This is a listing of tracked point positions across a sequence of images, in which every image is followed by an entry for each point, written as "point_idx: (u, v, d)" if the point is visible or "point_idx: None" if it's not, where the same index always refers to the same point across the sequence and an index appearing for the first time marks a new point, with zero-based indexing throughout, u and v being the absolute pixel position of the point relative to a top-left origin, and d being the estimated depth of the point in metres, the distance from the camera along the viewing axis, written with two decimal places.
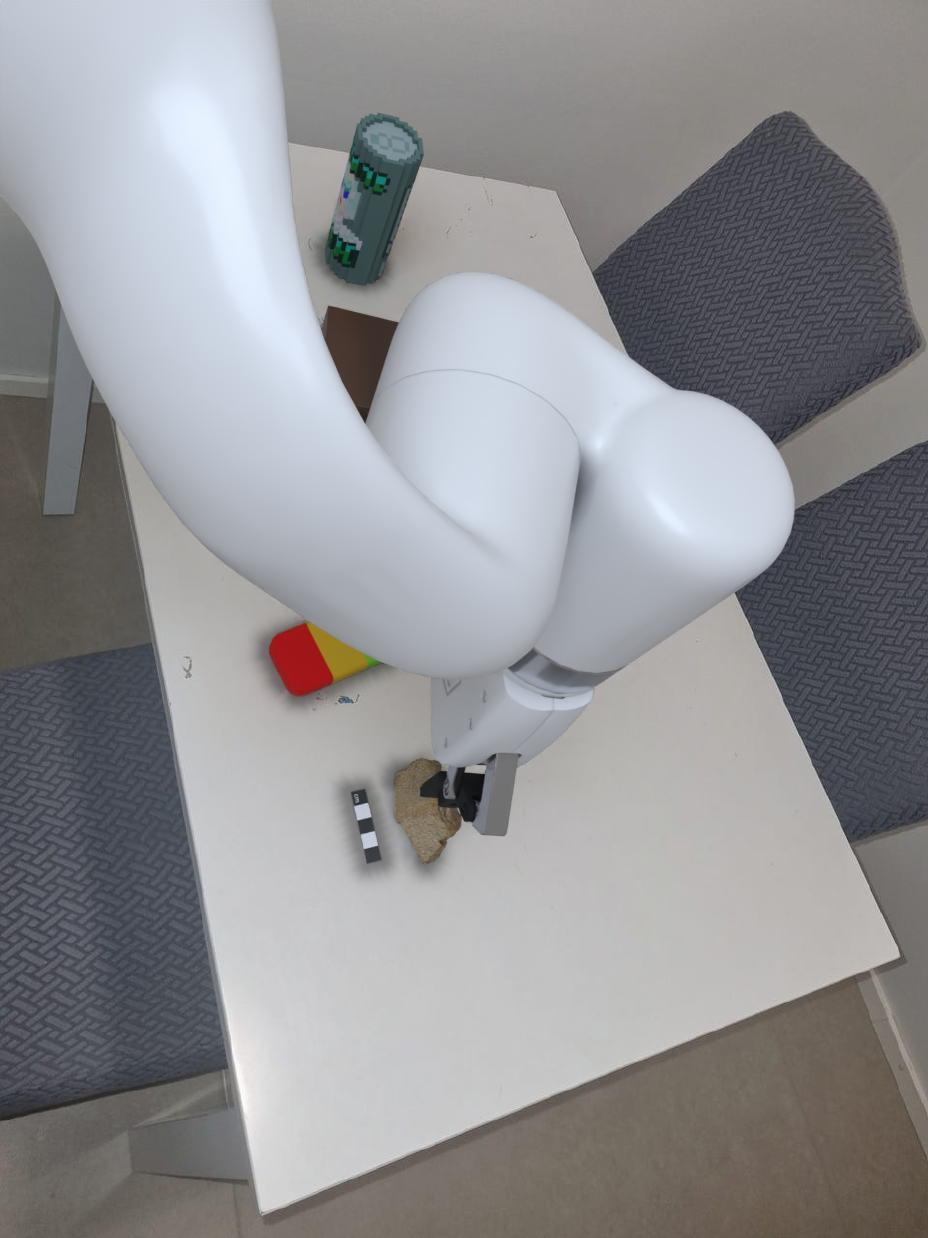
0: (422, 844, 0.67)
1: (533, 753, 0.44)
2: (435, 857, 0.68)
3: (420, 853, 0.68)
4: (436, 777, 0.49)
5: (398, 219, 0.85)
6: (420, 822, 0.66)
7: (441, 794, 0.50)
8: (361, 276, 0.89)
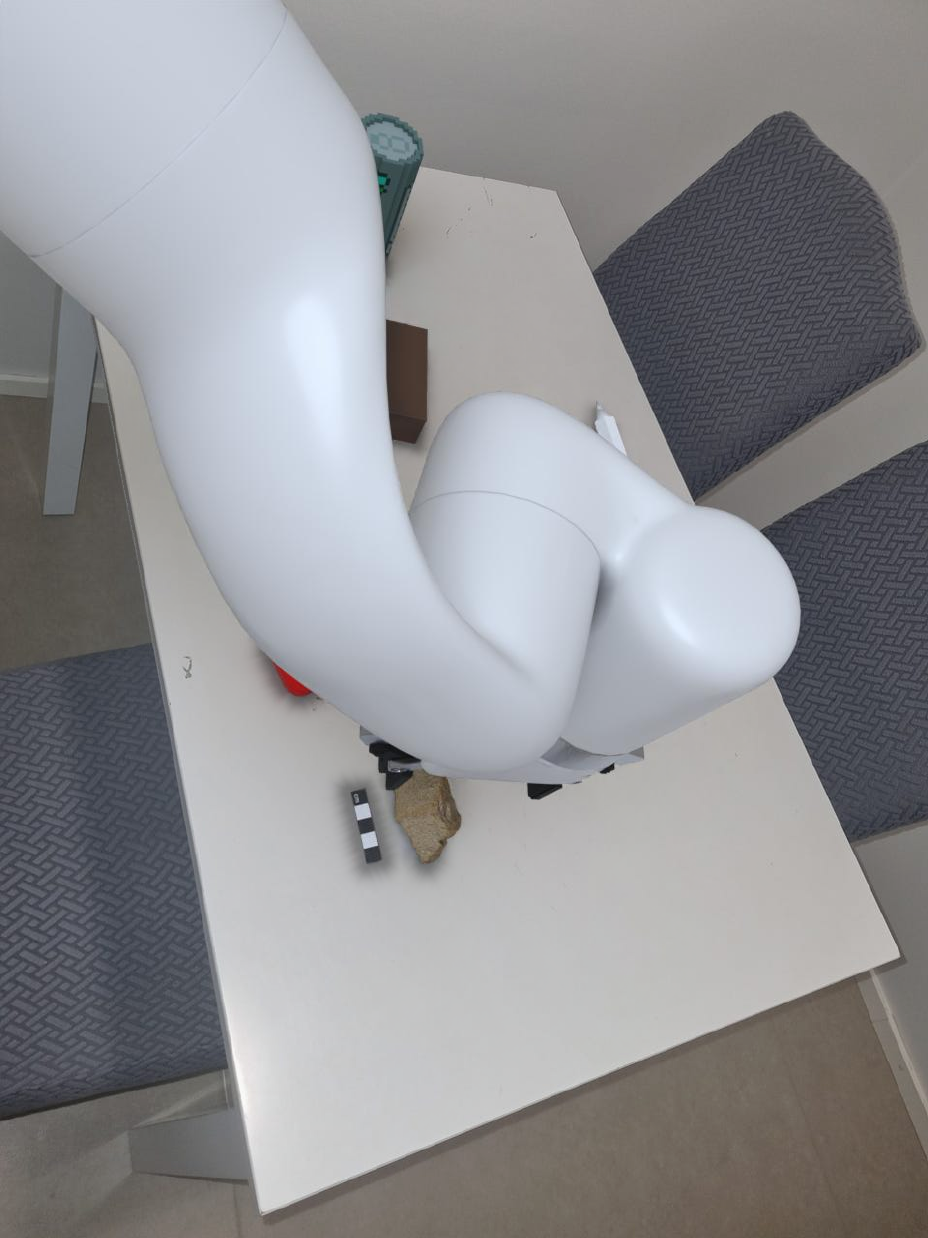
0: (422, 844, 0.67)
1: None
2: (435, 857, 0.68)
3: (420, 853, 0.68)
4: None
5: (398, 219, 0.85)
6: (420, 821, 0.66)
7: None
8: None
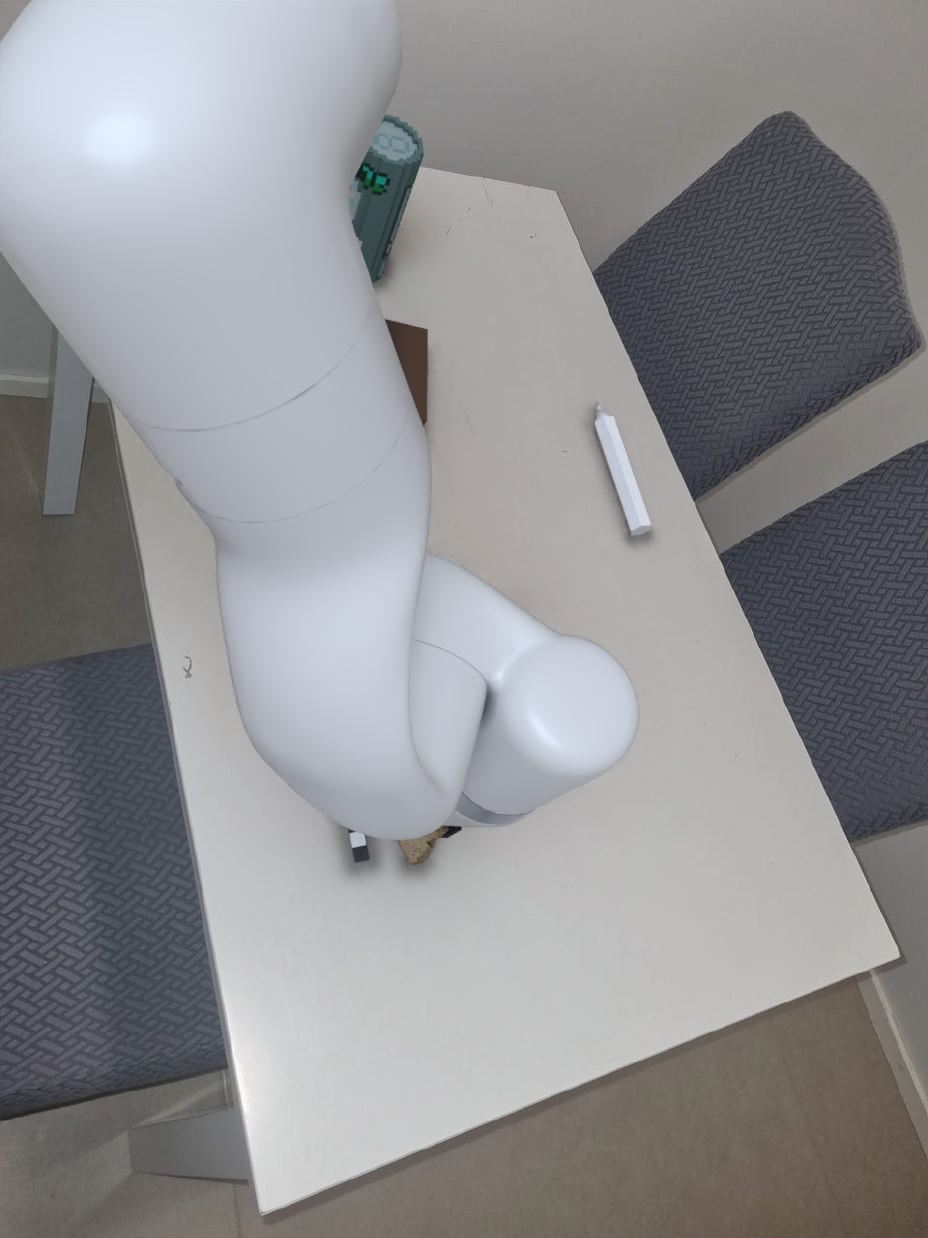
0: (410, 845, 0.67)
1: None
2: (423, 858, 0.68)
3: (408, 854, 0.68)
4: None
5: (398, 219, 0.85)
6: None
7: None
8: None
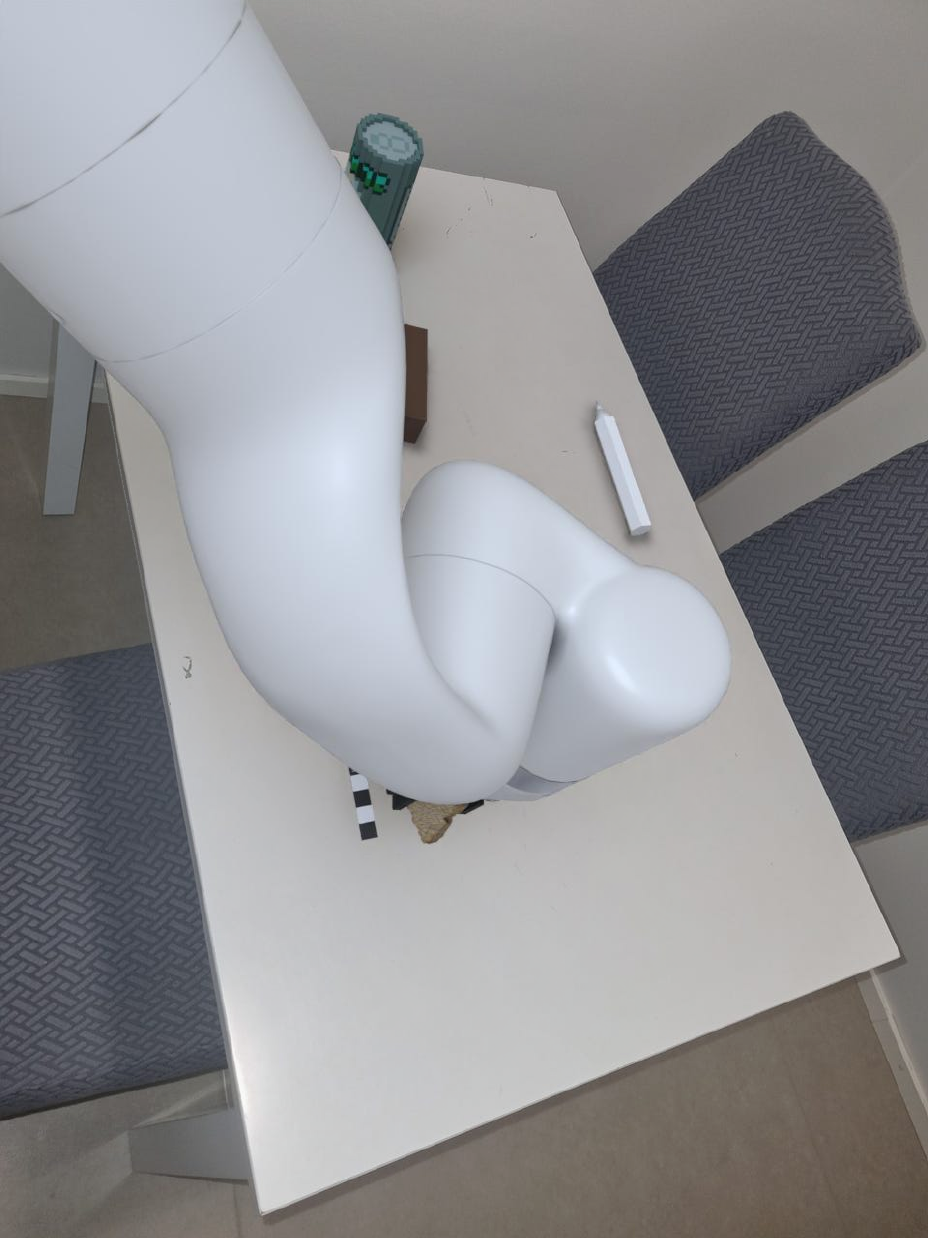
0: (424, 821, 0.60)
1: None
2: (438, 837, 0.61)
3: (422, 831, 0.61)
4: None
5: (398, 219, 0.85)
6: None
7: None
8: None
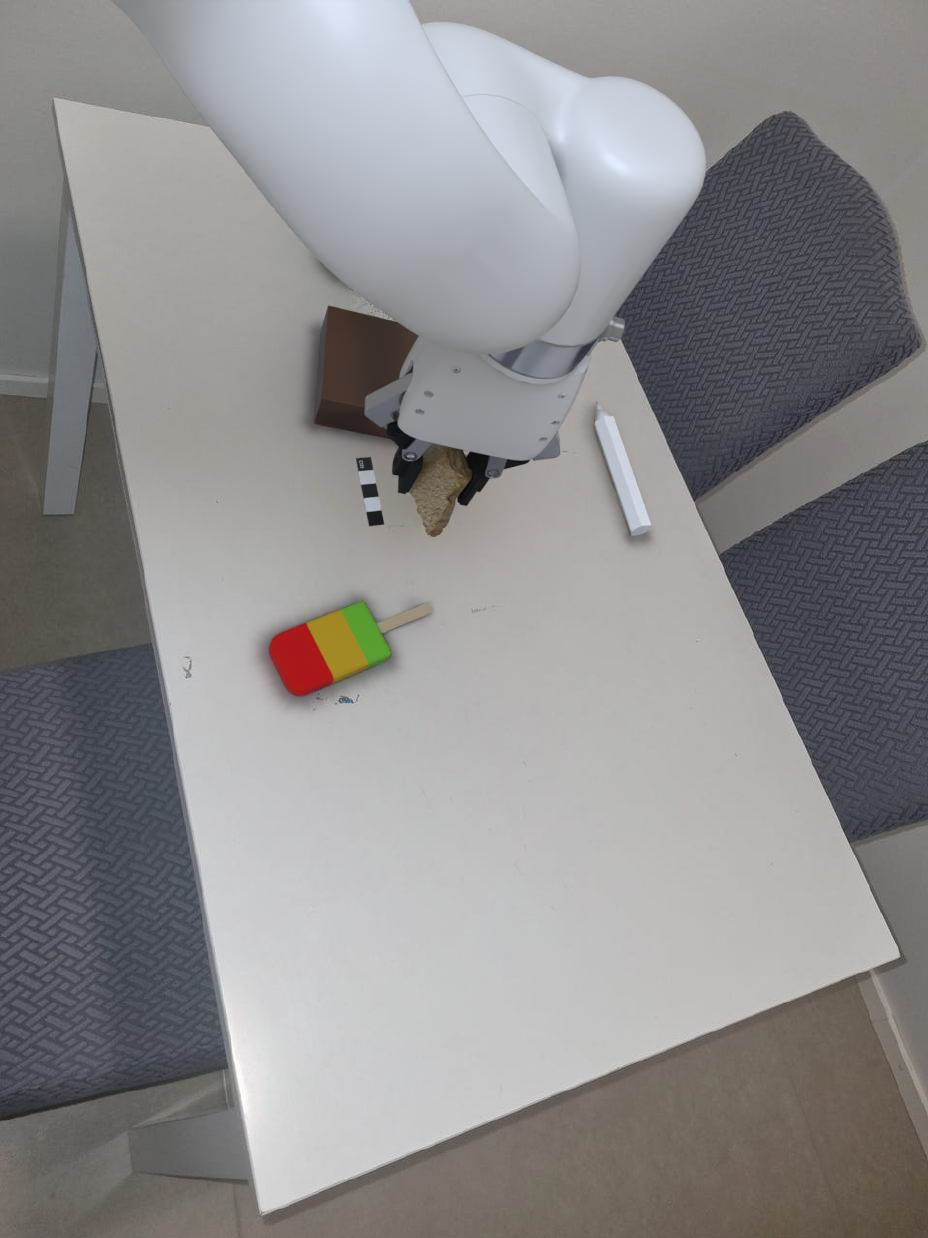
0: (428, 507, 0.63)
1: (413, 386, 0.52)
2: (442, 525, 0.64)
3: (426, 521, 0.64)
4: None
5: None
6: (428, 477, 0.62)
7: None
8: None
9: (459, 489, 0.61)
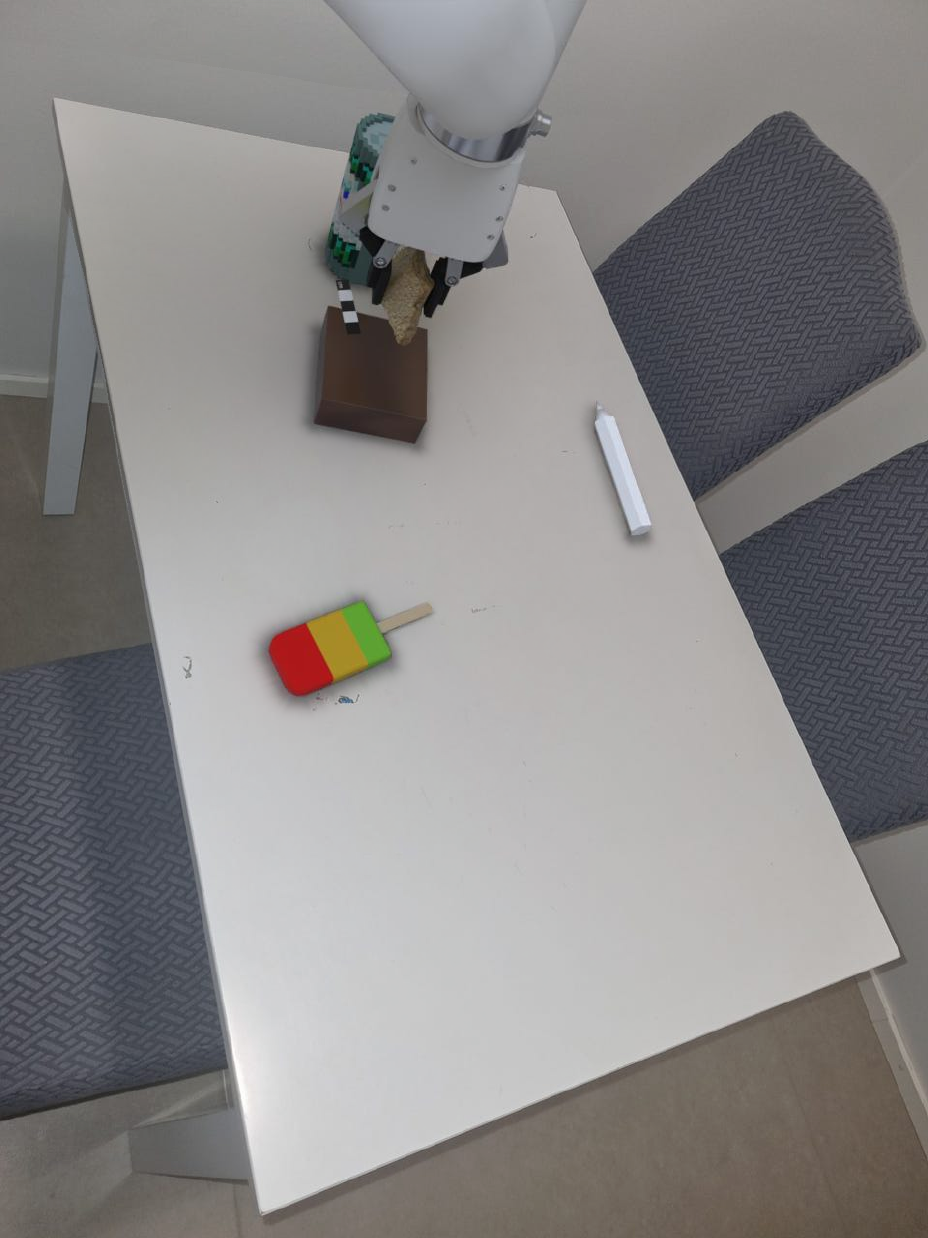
0: (398, 316, 0.73)
1: (379, 183, 0.63)
2: (410, 333, 0.74)
3: (396, 330, 0.74)
4: None
5: None
6: (397, 287, 0.72)
7: None
8: (361, 276, 0.89)
9: (423, 295, 0.71)
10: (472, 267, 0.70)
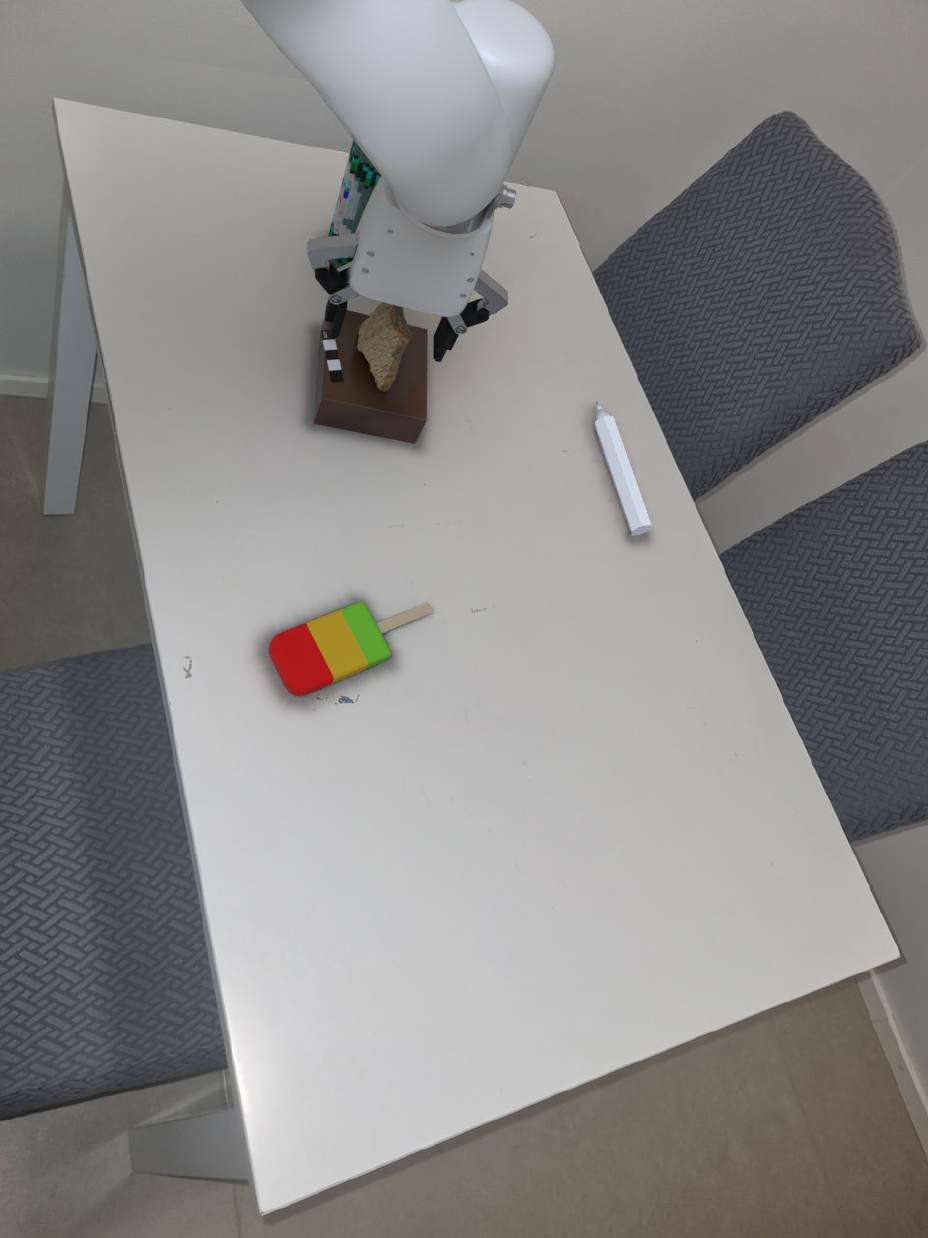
0: (378, 365, 0.79)
1: (359, 248, 0.68)
2: (389, 380, 0.80)
3: (377, 377, 0.80)
4: None
5: None
6: (377, 339, 0.78)
7: None
8: None
9: (401, 346, 0.77)
10: (479, 317, 0.76)
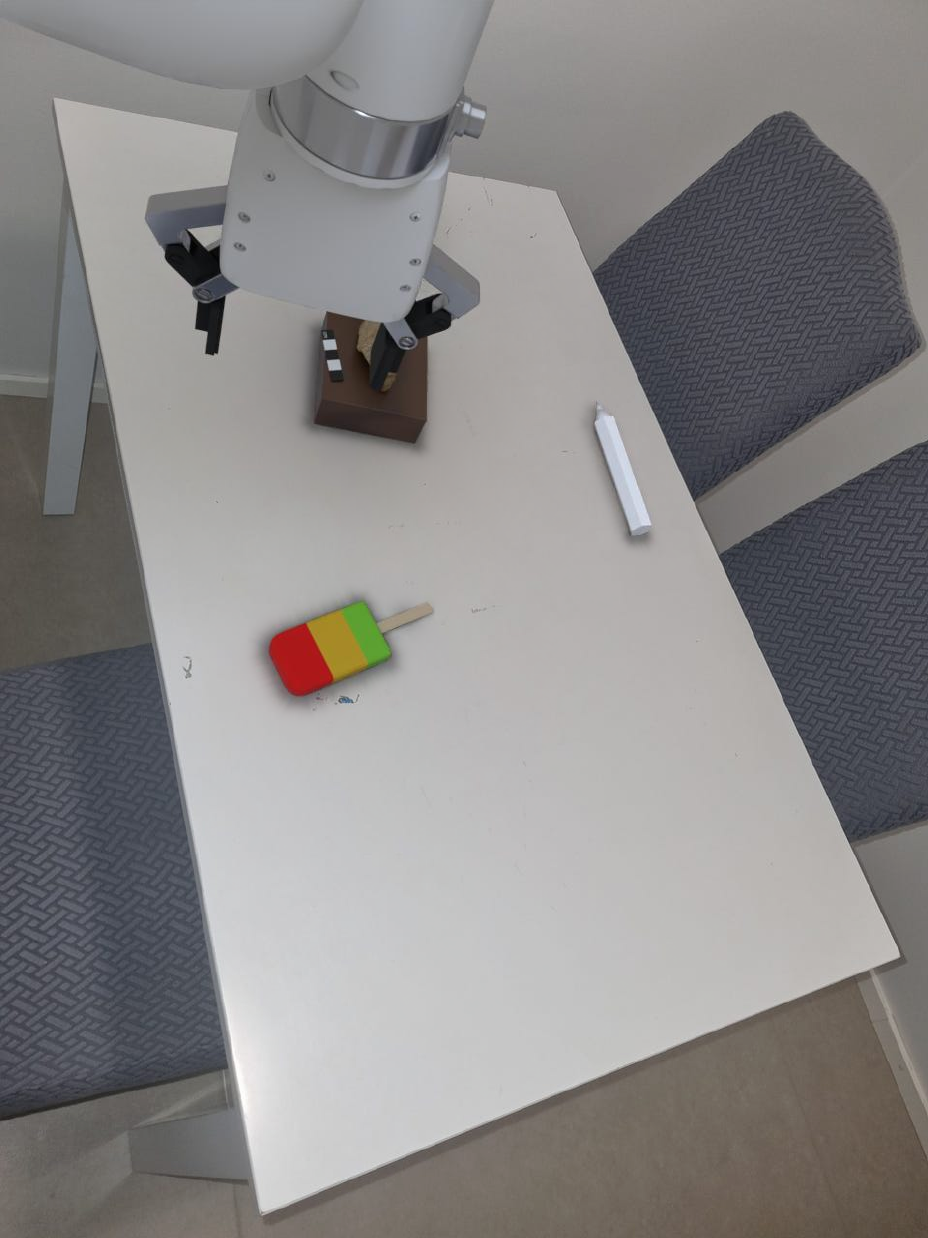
0: None
1: (227, 210, 0.41)
2: (389, 380, 0.80)
3: None
4: None
5: None
6: None
7: None
8: None
9: None
10: (436, 323, 0.48)
